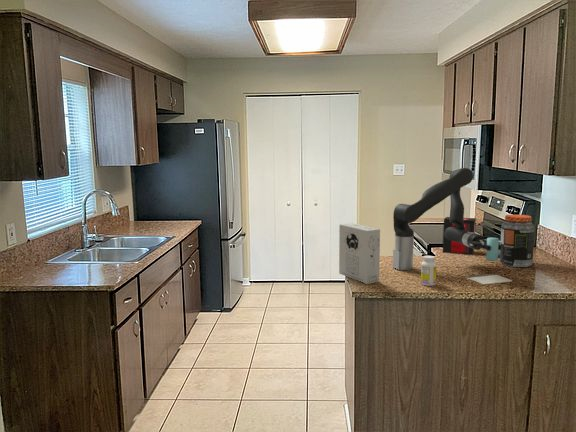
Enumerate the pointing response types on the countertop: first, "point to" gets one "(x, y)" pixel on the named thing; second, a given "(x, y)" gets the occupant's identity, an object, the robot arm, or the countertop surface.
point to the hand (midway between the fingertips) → (495, 247)
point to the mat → (489, 279)
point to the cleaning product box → (456, 246)
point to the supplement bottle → (428, 271)
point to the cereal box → (359, 252)
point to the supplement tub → (517, 241)
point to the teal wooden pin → (492, 249)
